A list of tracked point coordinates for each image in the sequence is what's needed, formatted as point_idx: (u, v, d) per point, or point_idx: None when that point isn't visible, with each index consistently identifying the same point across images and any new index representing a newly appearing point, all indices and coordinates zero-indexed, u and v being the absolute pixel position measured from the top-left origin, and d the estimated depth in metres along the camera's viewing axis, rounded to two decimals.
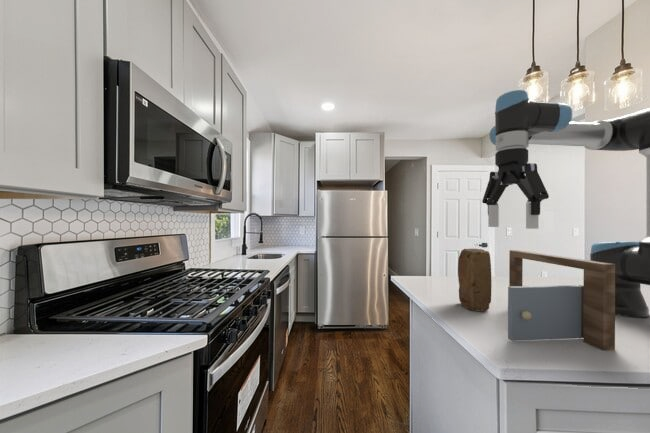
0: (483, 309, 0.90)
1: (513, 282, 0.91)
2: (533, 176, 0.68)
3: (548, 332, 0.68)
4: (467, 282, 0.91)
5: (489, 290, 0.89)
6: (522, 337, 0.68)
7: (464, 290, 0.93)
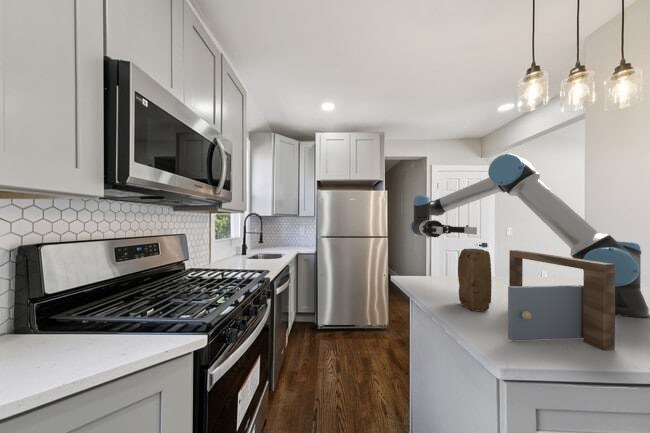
0: (483, 309, 0.90)
1: (513, 282, 0.91)
2: None
3: (548, 332, 0.68)
4: (467, 282, 0.91)
5: (489, 290, 0.89)
6: (522, 337, 0.68)
7: (464, 290, 0.93)
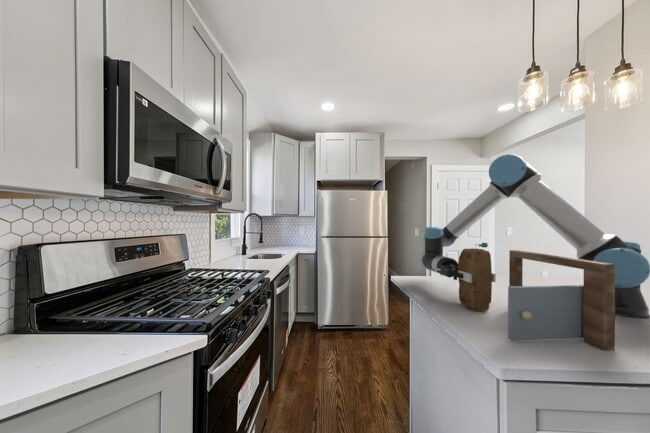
0: (483, 309, 0.90)
1: (513, 282, 0.91)
2: (442, 271, 1.02)
3: (548, 332, 0.68)
4: (468, 282, 0.91)
5: (489, 290, 0.89)
6: (522, 337, 0.68)
7: (464, 290, 0.93)
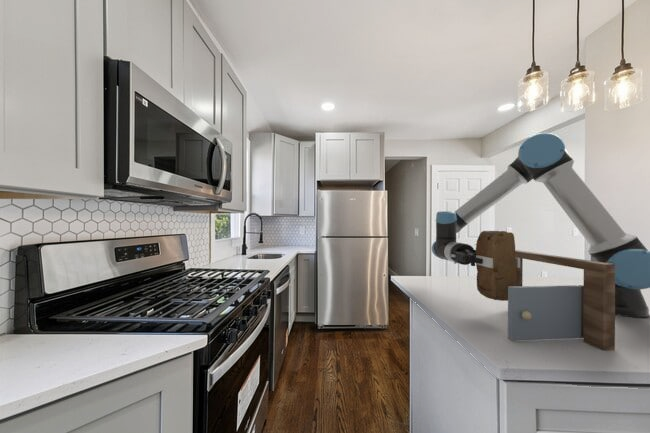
0: (506, 298, 0.78)
1: None
2: (457, 258, 0.91)
3: (548, 332, 0.68)
4: (488, 268, 0.80)
5: (513, 276, 0.78)
6: (522, 337, 0.68)
7: (483, 277, 0.82)
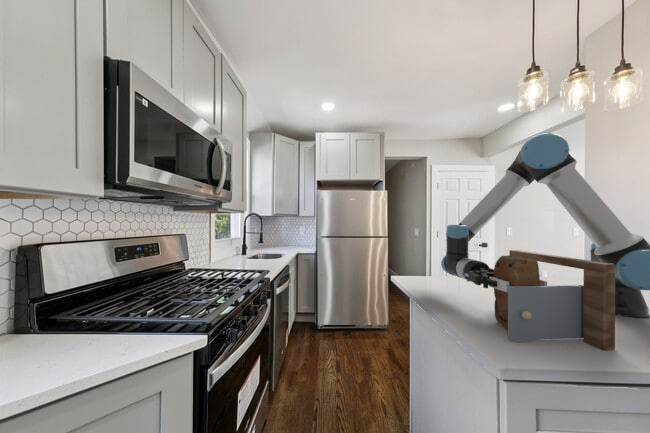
0: None
1: None
2: (470, 278, 0.85)
3: (548, 332, 0.68)
4: None
5: None
6: (522, 337, 0.68)
7: (504, 307, 0.75)
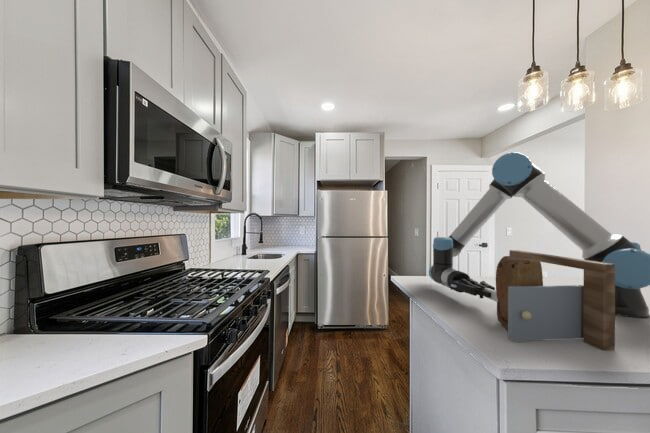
0: None
1: None
2: (460, 288, 0.94)
3: (548, 332, 0.68)
4: None
5: None
6: (522, 337, 0.68)
7: (506, 308, 0.75)
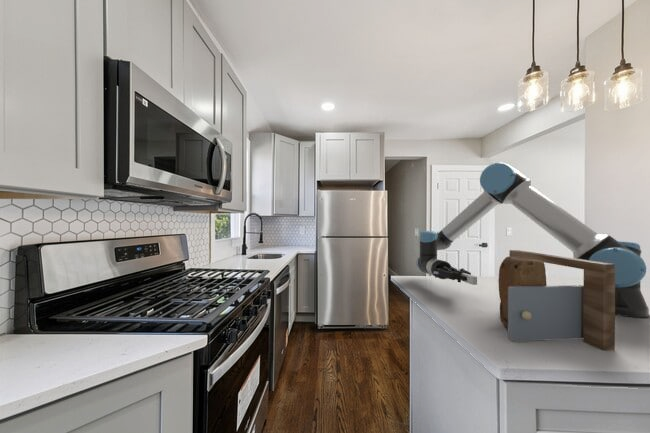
0: None
1: None
2: (441, 274, 1.06)
3: (548, 332, 0.68)
4: None
5: None
6: (522, 337, 0.68)
7: None
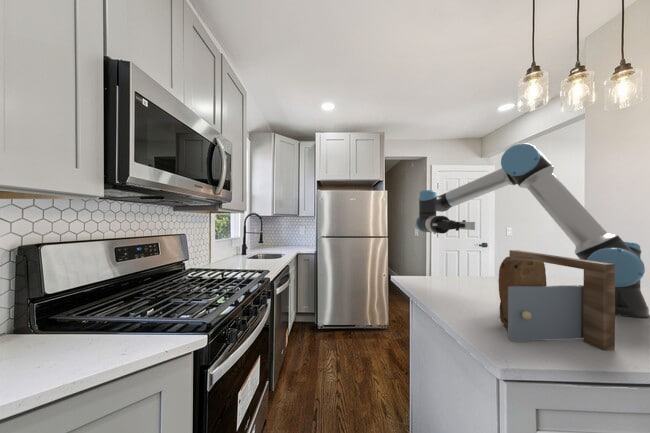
0: None
1: None
2: (440, 226, 1.08)
3: (548, 332, 0.68)
4: None
5: None
6: (522, 337, 0.68)
7: None
